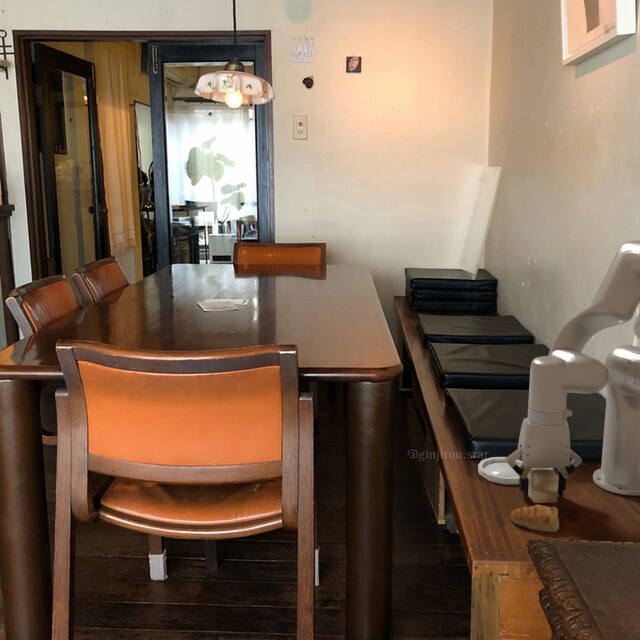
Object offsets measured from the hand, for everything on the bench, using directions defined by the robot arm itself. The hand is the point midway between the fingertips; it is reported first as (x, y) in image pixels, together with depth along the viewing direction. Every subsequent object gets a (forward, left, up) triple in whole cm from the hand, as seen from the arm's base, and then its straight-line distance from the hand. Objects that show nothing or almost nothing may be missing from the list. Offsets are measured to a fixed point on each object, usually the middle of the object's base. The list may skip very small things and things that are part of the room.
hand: (541, 492), depth 149 cm
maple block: (0, 0, -1) cm, 1 cm away
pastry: (+4, +11, -1) cm, 12 cm away
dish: (+5, -12, -1) cm, 13 cm away
